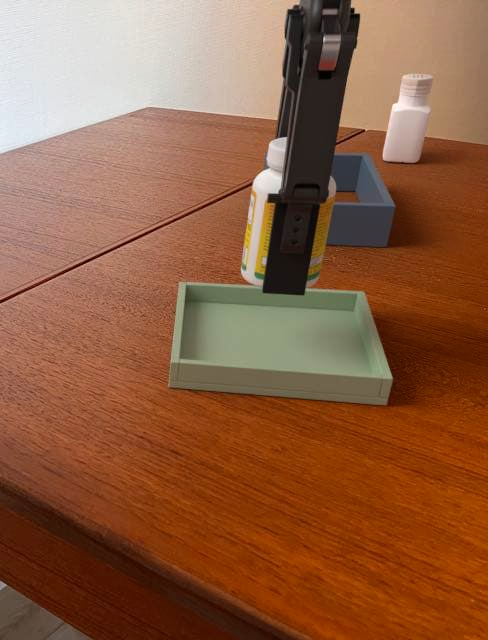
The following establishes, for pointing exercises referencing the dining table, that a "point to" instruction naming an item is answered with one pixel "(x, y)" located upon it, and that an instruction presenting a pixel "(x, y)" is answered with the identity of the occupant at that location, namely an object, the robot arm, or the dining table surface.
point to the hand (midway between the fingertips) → (280, 274)
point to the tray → (278, 344)
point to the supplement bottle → (263, 217)
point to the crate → (359, 218)
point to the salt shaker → (408, 120)
